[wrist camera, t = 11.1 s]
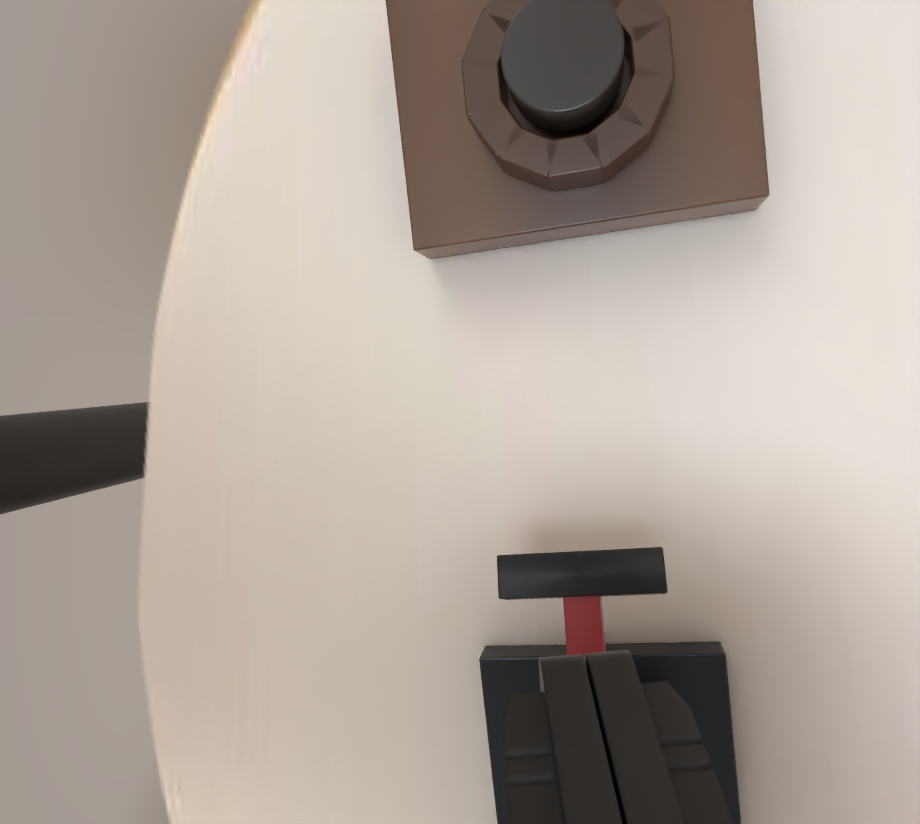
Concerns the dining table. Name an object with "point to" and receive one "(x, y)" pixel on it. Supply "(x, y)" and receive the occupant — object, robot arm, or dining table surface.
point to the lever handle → (582, 585)
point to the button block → (580, 150)
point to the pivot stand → (680, 664)
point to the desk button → (563, 61)
